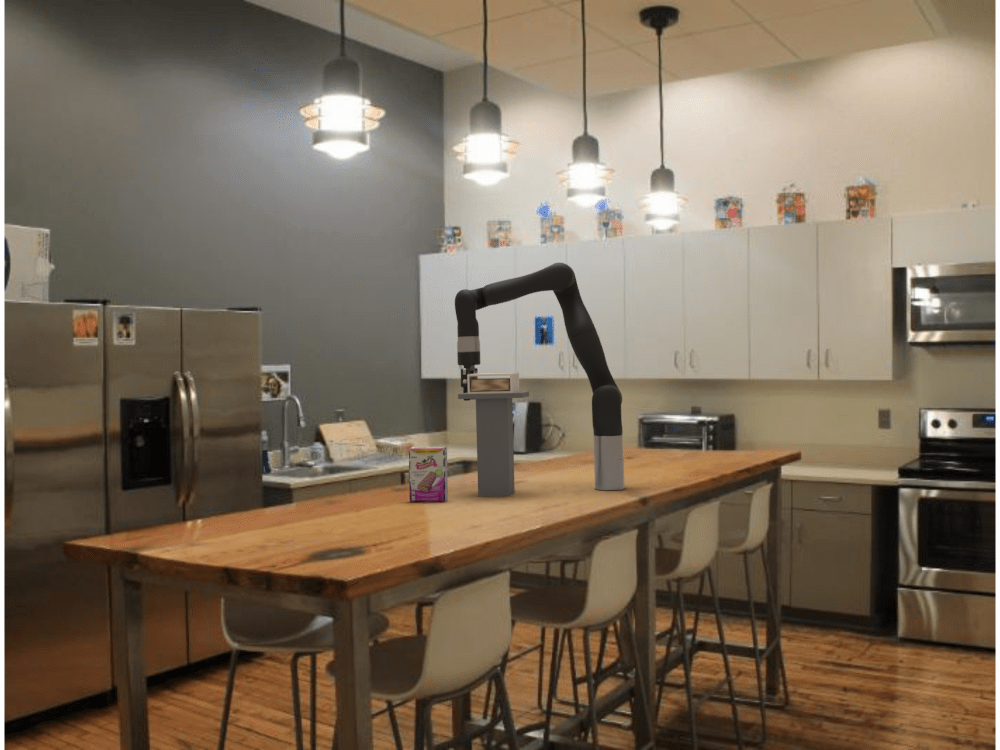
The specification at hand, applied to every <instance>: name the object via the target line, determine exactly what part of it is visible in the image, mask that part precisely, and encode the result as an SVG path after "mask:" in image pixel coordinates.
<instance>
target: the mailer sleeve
mask: <svg viewBox="0 0 1000 750" xmlns="http://www.w3.org/2000/svg"><path fill="white" fill-rule="evenodd" d="M497 376H498V377H499V376H500V377H501V376H503V377H504V376H509V378H510V390H492V391H471V380H474V379H479V377H497ZM467 384H468V394H491V393H515V392H520V373H519V372H493V373H492V372H490V373H486V372H485V373H478V374H467Z"/></svg>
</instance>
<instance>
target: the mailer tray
mask: <svg viewBox="0 0 1000 750" xmlns="http://www.w3.org/2000/svg"><path fill="white" fill-rule="evenodd" d="M492 390H510V377H509V378H507V377H506V378H505V377H504V378H503V377H502V378H478V379H474V380H471V391H492Z"/></svg>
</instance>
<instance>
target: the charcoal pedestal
mask: <svg viewBox="0 0 1000 750" xmlns="http://www.w3.org/2000/svg"><path fill="white" fill-rule="evenodd" d="M529 396H530V391H529V390H528V391H527V390H526V391H523V390H522V391H519V392H515V393H491V394H468V393H463V392H462V393H458V394H457V399H458V400H464V399H470V400H471V399H474V400H475V422H476V423H475V425H476V428H475V429H476V460H477V461H476V462H477V465H476V466H477V468H476V469H477V496H478V497H482V498H483V497H484V498H485V496H486V498H488V497H487V496H489V498H490V497H491V498H492V497H493V498H494V497H496V498H497V497H499V498H500V497H501V498H503V496H510V497H511V496H513V495H514V494H515V491H516V490H515V489H516V488H515V457H514V456H515V455H514V452H515V451H514V447H515V446H514V426H513V425H514V413H513V399H522V398H524V399H525V398H528V397H529Z"/></svg>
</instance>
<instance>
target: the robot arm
mask: <svg viewBox="0 0 1000 750" xmlns="http://www.w3.org/2000/svg"><path fill="white" fill-rule="evenodd" d="M548 291H549V292H550V291H552V292H553V293H554V296H555V297H556V299H557V303H558V304H559V306H560V309H561V312H562V318H563V322H564V326H565V331H566V334H567V337H568V340H569V343H570V346H571V348H572V350H573V353H574V355H575V357H576V358H577V360H578V362H579V364H580V365H581V367H582V369H583V370H584V372H585V375H586V376H587V378H588V381H589V385H590V388H591V391H592V397H591V417H592V419H591V420H592V430H593V459H594V489H596V490H598V491H599V490H600V491H617V490H618V491H619V490H620V491H621V490H624V489H625V459H624V447H623V445H624V444H623V443H624V442H623V441H624V439H623V437H624V436H623V423H622V403H623V396H622V393H621V390H620V389H619V387H618V385H617V383H616V381H615V379H614V377H613V375H612V373H611V371H610V368H609V365H608V363H607V358H606V355H605V351H604V348H603V346H602V342H601V340H600V336H599V334H598V331H597V328H596V327H595V323H594V321H593V320H592V317H591V315H590V314H589V312H588V310H587V307H586V306H585V303H584V301H583V299H582V296H581V293H580V289H579V286H578V283H577V278H576V274H575V271H574V269H573V268H572V267H571V266H570V265H569V264H567V263H564V262H555V263H553V264H550V265H548V266H546V267H544V268H542V269H540V270H537V271H535V272H534V271H533V272H531V273H529V274H526V275H521V276H517V277H513V278H508V279H504V280H500V281H496V282H492V283H488V284H486V285H484V286H483V287H479V288H475V289H465V288H464V289H461V290H459V291H457V293H456V295H455V296H454V297H455V298H454V310H455V317H456V321H457V329H456V330H457V342H456V348H457V349H456V350H457V353H456V354H457V365H458V366H463V368H460V387H461V388H462V389H463V390H462V393H468V384H467V374H479V372H478V367H476V366H479V365H480V364H481V342H480V325H479V322H478V320H477V311H479V310H481V309H484V308H487V307H489V306H496V305H500V304H503V303H507V302H510V301H514V300H517V299H519V298H522V297H525V296H527V295H531V294H535V293H540V292H548ZM471 400H472V401H473V400H475V399H463V401H465V402H466V401H471Z"/></svg>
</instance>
